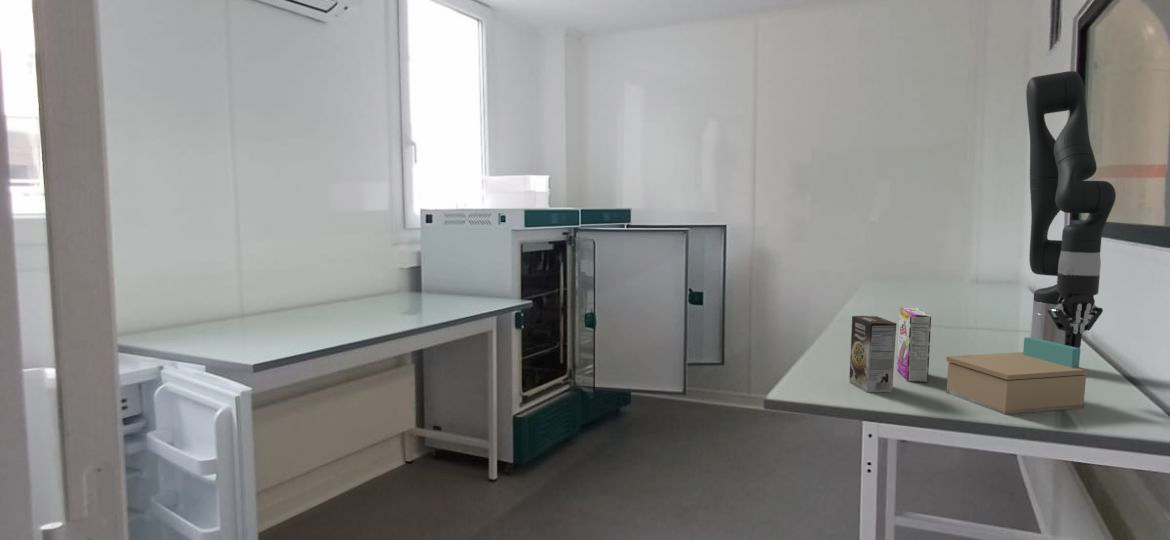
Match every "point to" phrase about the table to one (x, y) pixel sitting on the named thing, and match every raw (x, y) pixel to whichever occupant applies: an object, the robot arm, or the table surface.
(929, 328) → the candy bar box
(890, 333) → the brown upright rectangular box
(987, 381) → the mailer box
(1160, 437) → the table surface
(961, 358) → the lid
